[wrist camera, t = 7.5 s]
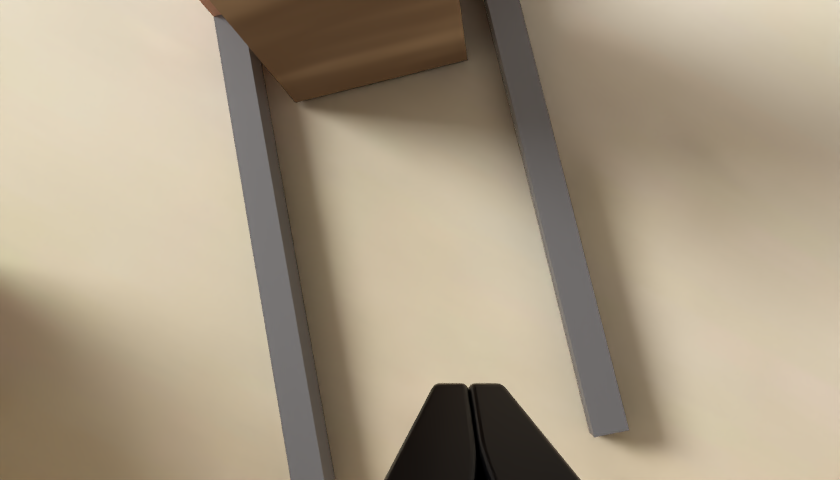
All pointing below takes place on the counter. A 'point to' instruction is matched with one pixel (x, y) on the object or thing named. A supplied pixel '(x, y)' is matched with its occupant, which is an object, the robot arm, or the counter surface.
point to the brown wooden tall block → (346, 40)
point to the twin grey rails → (280, 266)
